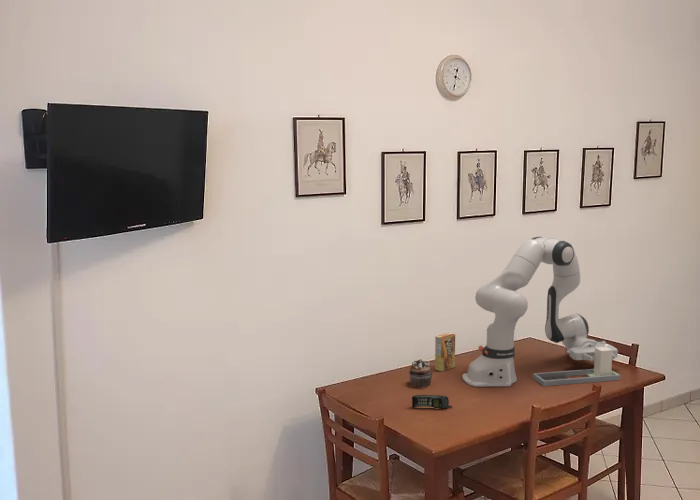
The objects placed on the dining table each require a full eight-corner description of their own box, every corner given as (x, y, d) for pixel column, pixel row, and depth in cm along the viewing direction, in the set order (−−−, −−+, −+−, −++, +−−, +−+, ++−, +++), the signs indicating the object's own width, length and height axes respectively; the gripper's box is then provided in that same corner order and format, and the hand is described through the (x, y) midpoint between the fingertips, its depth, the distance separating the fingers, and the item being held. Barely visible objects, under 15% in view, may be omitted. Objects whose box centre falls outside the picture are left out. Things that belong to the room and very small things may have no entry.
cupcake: (404, 385, 275) (404, 361, 273) (418, 378, 282) (418, 356, 280) (423, 390, 268) (423, 366, 267) (437, 383, 275) (437, 360, 274)
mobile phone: (411, 397, 249) (452, 396, 247) (411, 394, 252) (451, 393, 250) (412, 409, 249) (452, 409, 248) (412, 406, 252) (452, 406, 251)
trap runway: (543, 386, 271) (543, 381, 270) (532, 378, 280) (532, 373, 280) (620, 379, 276) (620, 375, 276) (606, 372, 286) (607, 367, 286)
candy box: (448, 365, 299) (448, 332, 297) (455, 367, 296) (455, 334, 293) (434, 369, 293) (434, 335, 291) (441, 371, 290) (441, 337, 288)
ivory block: (600, 378, 277) (601, 351, 276) (593, 374, 282) (594, 347, 281) (611, 377, 278) (612, 350, 276) (604, 374, 283) (605, 346, 281)
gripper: (564, 343, 290) (580, 352, 277) (607, 340, 294) (625, 349, 280) (563, 357, 291) (579, 367, 278) (606, 354, 295) (624, 364, 281)
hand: (603, 358), depth 279 cm, fingers open, 8 cm apart
